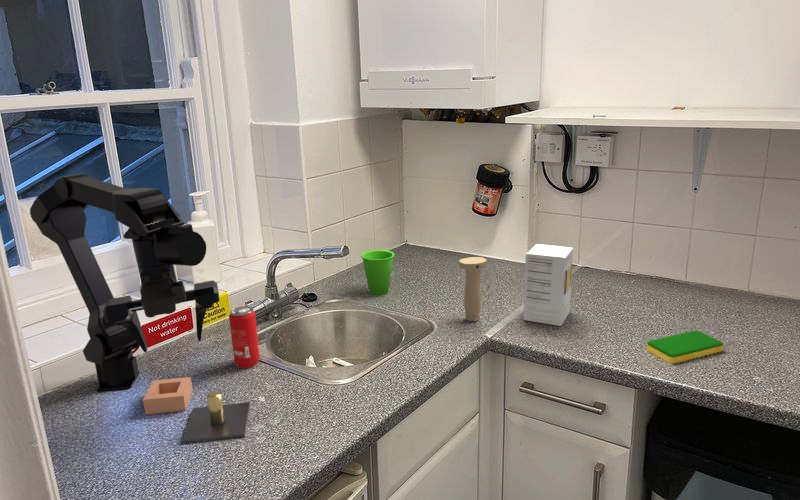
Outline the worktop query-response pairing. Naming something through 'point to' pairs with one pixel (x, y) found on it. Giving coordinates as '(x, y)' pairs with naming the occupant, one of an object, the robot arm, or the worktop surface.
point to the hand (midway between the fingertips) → (173, 345)
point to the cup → (378, 270)
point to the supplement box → (548, 284)
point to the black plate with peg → (217, 420)
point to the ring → (168, 395)
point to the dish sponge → (684, 346)
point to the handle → (472, 286)
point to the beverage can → (244, 337)
